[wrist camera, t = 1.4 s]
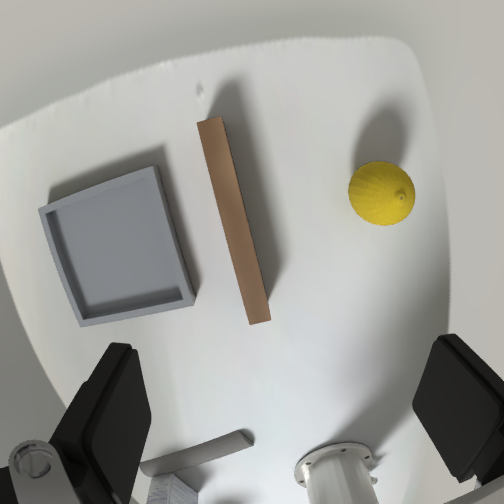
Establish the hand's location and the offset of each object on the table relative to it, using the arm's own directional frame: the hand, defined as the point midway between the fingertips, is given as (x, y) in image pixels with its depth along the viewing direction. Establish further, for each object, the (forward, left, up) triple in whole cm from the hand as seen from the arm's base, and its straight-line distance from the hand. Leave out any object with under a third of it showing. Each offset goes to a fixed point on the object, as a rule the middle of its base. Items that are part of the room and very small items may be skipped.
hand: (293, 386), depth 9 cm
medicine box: (-13, +43, -22) cm, 50 cm away
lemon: (-6, -9, -22) cm, 25 cm away
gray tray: (+11, +10, -22) cm, 27 cm away
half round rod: (-11, +33, -23) cm, 41 cm away
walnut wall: (+2, 0, -22) cm, 22 cm away
